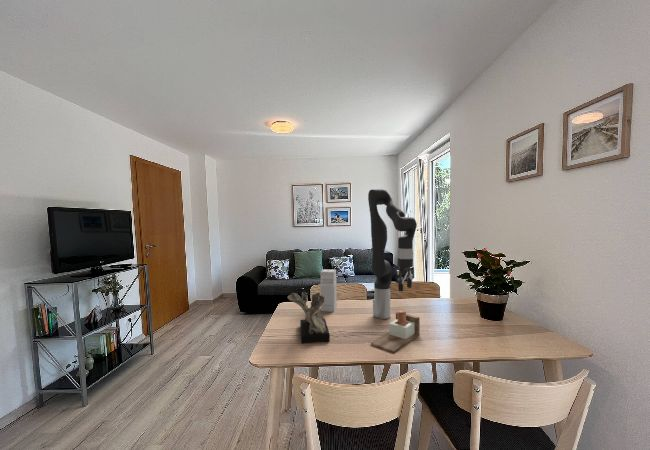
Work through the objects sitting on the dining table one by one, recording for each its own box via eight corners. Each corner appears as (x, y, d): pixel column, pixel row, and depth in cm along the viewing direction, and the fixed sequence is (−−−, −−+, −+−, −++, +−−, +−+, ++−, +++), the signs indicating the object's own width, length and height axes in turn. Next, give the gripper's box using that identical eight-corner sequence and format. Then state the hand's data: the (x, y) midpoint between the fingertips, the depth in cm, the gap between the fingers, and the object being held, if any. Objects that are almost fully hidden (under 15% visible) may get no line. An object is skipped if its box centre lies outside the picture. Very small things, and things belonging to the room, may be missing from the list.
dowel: (396, 332, 140) (396, 311, 139) (400, 329, 142) (400, 310, 142) (403, 334, 137) (403, 313, 137) (407, 331, 140) (407, 311, 139)
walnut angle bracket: (370, 345, 131) (370, 325, 131) (397, 328, 149) (397, 311, 149) (393, 353, 123) (393, 332, 122) (419, 335, 141) (419, 317, 140)
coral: (330, 345, 132) (329, 299, 131) (286, 347, 130) (285, 301, 129) (326, 324, 156) (325, 286, 156) (289, 326, 155) (288, 287, 154)
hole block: (389, 334, 140) (388, 323, 140) (398, 328, 146) (398, 318, 146) (405, 339, 133) (405, 328, 133) (414, 333, 140) (414, 322, 140)
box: (336, 307, 186) (336, 269, 185) (334, 311, 177) (333, 272, 177) (324, 306, 187) (323, 269, 187) (321, 310, 179) (320, 271, 178)
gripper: (405, 254, 148) (405, 285, 149) (391, 258, 138) (390, 290, 139) (419, 256, 143) (418, 288, 144) (405, 259, 133) (404, 293, 134)
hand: (405, 289), depth 141 cm, fingers open, 8 cm apart
